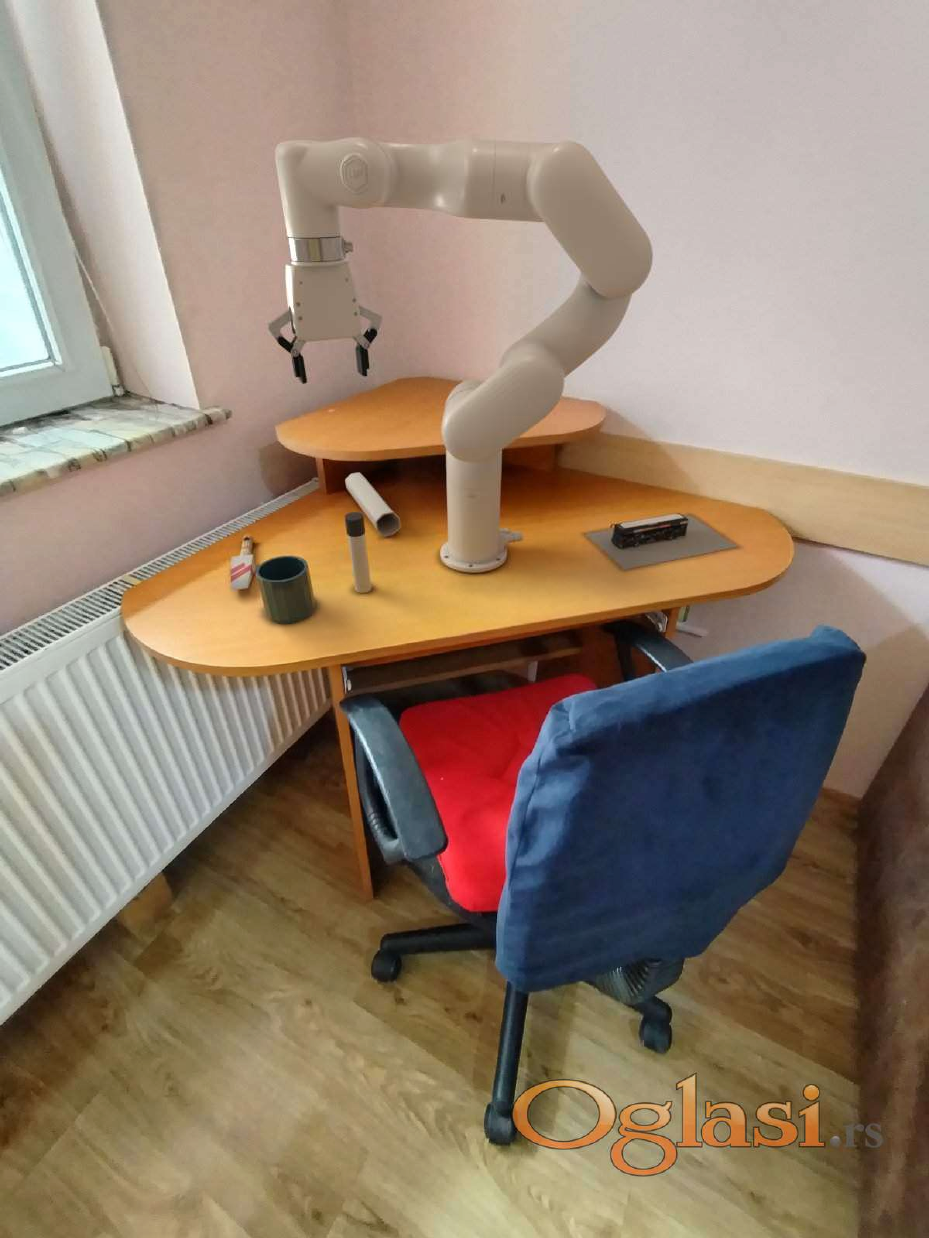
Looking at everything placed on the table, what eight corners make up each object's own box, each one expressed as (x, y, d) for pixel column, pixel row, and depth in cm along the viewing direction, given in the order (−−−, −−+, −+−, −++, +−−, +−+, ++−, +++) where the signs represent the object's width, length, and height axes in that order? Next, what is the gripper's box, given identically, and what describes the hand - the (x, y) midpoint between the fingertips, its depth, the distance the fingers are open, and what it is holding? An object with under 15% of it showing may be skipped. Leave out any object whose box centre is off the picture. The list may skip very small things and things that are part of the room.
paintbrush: (224, 583, 100) (237, 533, 116) (228, 596, 102) (240, 545, 118) (248, 580, 101) (257, 530, 117) (252, 594, 102) (260, 543, 118)
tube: (338, 475, 135) (371, 520, 116) (358, 464, 135) (395, 507, 117) (348, 495, 138) (381, 541, 120) (368, 484, 139) (405, 528, 120)
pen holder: (309, 591, 103) (301, 551, 99) (320, 616, 98) (312, 574, 93) (262, 602, 101) (252, 562, 96) (270, 628, 95) (260, 586, 90)
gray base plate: (586, 534, 120) (588, 515, 117) (691, 515, 126) (695, 496, 124) (624, 569, 108) (627, 549, 106) (737, 547, 115) (743, 527, 112)
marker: (369, 582, 106) (360, 510, 97) (374, 591, 103) (365, 518, 95) (352, 586, 105) (342, 514, 96) (357, 595, 102) (347, 521, 94)
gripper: (367, 247, 90) (378, 367, 100) (250, 252, 84) (274, 378, 94) (383, 251, 85) (392, 377, 95) (258, 257, 79) (282, 390, 89)
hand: (333, 378), depth 95 cm, fingers open, 9 cm apart
